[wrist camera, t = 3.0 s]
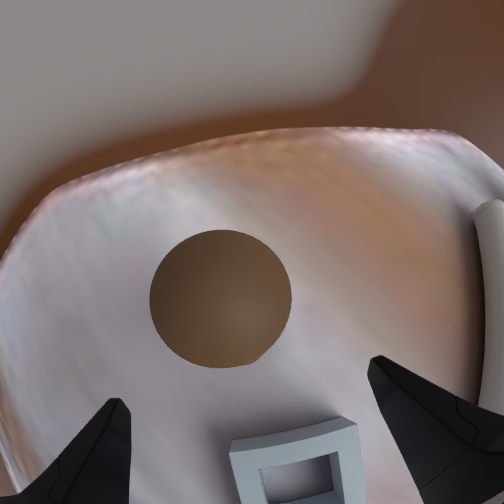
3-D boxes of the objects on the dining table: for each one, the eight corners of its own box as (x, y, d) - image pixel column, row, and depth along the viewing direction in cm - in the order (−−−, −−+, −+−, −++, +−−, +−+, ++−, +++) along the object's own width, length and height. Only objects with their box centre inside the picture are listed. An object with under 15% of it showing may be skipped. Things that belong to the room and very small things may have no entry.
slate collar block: (353, 496, 13) (366, 511, 10) (252, 520, 12) (252, 539, 10) (342, 416, 16) (357, 423, 13) (232, 439, 15) (228, 452, 13)
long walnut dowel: (267, 360, 18) (305, 353, 5) (225, 367, 18) (157, 375, 5) (259, 320, 19) (274, 220, 6) (218, 327, 19) (147, 241, 6)
